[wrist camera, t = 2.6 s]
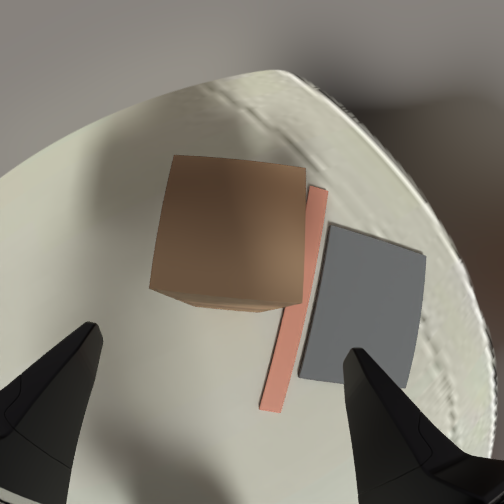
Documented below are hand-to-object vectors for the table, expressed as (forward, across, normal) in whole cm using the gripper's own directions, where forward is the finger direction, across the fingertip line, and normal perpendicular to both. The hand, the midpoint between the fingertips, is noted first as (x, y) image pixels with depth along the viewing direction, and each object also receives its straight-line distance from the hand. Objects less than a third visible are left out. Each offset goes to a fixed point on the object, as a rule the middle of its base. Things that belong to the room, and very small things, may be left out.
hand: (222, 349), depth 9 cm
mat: (+9, -12, +6) cm, 16 cm away
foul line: (+10, -5, +6) cm, 12 cm away
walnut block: (+10, 0, +5) cm, 11 cm away
